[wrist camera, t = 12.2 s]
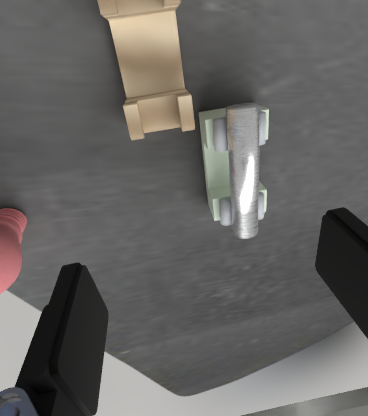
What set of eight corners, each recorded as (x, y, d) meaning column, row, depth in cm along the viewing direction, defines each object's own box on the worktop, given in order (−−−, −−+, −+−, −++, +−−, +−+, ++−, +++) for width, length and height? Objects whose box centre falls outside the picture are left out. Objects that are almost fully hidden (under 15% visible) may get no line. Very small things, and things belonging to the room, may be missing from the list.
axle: (221, 106, 25) (232, 112, 23) (251, 101, 26) (265, 106, 23) (228, 226, 33) (237, 241, 30) (252, 221, 33) (262, 235, 30)
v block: (198, 112, 30) (207, 123, 25) (254, 102, 30) (274, 112, 25) (208, 204, 36) (217, 227, 31) (254, 196, 36) (270, 217, 32)
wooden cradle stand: (100, -20, 23) (88, -39, 18) (168, -30, 23) (174, -52, 19) (133, 125, 30) (131, 140, 25) (187, 116, 30) (195, 129, 25)
